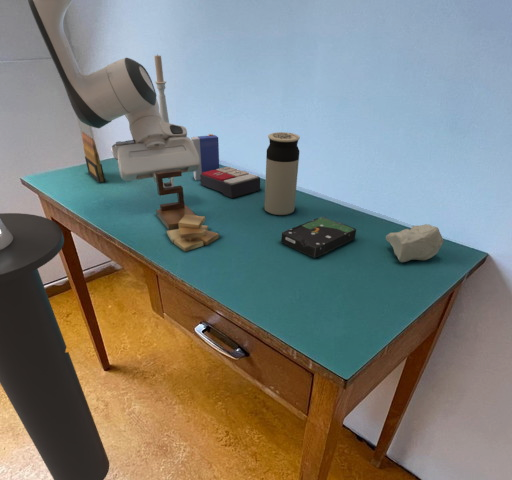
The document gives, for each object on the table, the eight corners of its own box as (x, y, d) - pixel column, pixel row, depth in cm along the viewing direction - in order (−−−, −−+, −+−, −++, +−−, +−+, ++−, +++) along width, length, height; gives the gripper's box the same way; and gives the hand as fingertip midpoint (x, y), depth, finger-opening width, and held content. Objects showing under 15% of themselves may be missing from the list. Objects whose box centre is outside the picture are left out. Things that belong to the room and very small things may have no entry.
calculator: (228, 165, 123) (261, 174, 114) (228, 179, 125) (261, 190, 116) (199, 171, 117) (231, 182, 108) (200, 186, 119) (232, 198, 111)
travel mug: (268, 216, 102) (271, 140, 90) (261, 205, 108) (263, 132, 96) (297, 215, 103) (305, 139, 92) (289, 203, 109) (295, 131, 98)
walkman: (216, 175, 126) (214, 133, 119) (219, 177, 125) (218, 135, 117) (193, 177, 124) (189, 135, 116) (195, 180, 122) (192, 137, 114)
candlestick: (193, 157, 141) (186, 53, 122) (175, 167, 132) (164, 56, 112) (162, 152, 144) (150, 51, 125) (142, 162, 135) (126, 53, 116)
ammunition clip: (88, 173, 125) (78, 131, 117) (94, 172, 125) (84, 130, 118) (99, 183, 118) (89, 139, 110) (105, 182, 119) (96, 138, 111)
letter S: (168, 230, 94) (163, 185, 87) (156, 215, 101) (150, 172, 94) (200, 225, 97) (197, 181, 90) (186, 210, 104) (183, 168, 97)
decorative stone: (409, 232, 93) (442, 208, 84) (422, 268, 91) (457, 247, 82) (372, 235, 89) (402, 210, 80) (386, 273, 87) (418, 251, 78)
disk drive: (315, 260, 85) (355, 239, 93) (316, 248, 83) (357, 228, 91) (280, 243, 90) (320, 225, 98) (280, 232, 89) (322, 214, 97)
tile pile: (185, 252, 86) (183, 235, 83) (161, 235, 92) (159, 218, 89) (224, 239, 91) (223, 223, 88) (199, 224, 97) (198, 208, 95)
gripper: (109, 135, 92) (127, 191, 92) (191, 126, 100) (208, 178, 100) (108, 150, 98) (126, 203, 98) (186, 141, 106) (203, 190, 106)
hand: (168, 190), depth 99 cm, fingers closed, pressing on letter S
